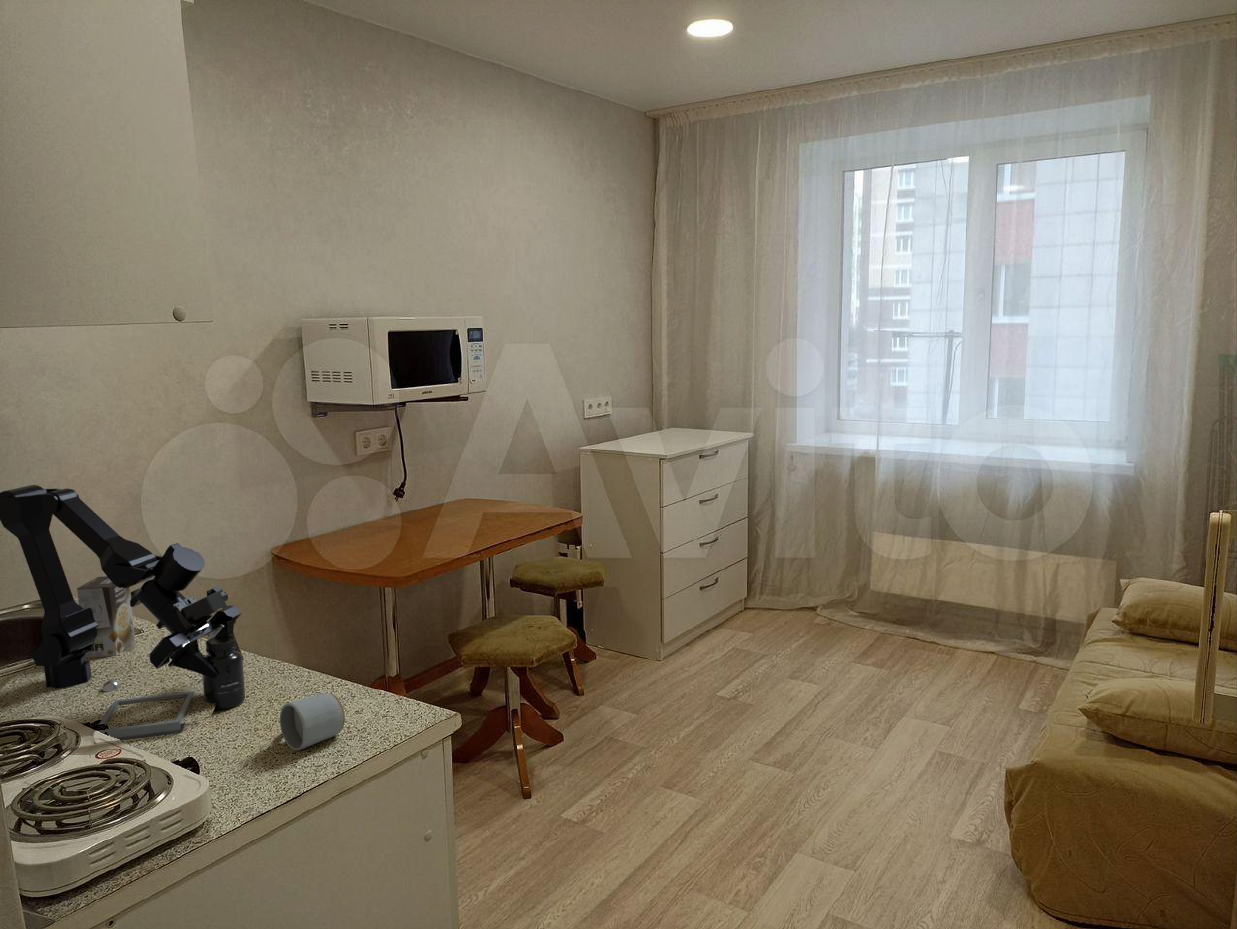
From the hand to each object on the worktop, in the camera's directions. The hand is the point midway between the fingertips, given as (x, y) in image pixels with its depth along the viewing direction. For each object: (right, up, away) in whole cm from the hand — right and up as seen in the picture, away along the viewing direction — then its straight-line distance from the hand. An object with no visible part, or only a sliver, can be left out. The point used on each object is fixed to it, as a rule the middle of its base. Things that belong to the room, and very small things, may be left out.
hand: (229, 668), depth 159 cm
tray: (-12, -8, -6) cm, 15 cm away
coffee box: (-36, -3, +26) cm, 44 cm away
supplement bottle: (-1, -7, +1) cm, 7 cm away
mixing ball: (-24, -5, +5) cm, 25 cm away
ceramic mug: (+19, -9, -13) cm, 24 cm away
